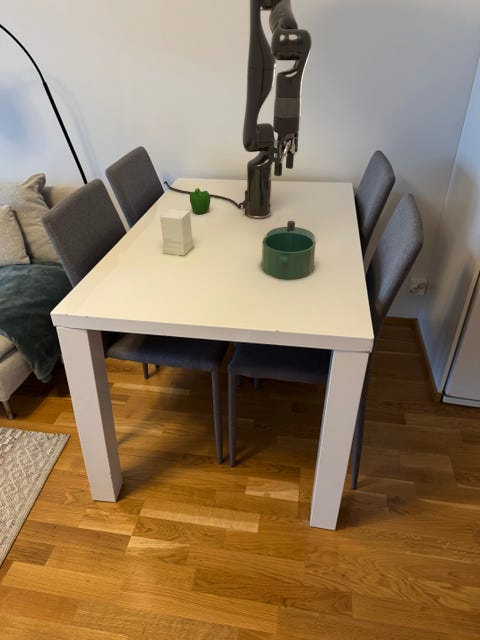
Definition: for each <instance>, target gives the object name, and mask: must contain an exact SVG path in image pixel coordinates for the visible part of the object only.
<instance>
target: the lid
mask: <svg viewBox="0 0 480 640" xmlns="http://www.w3.org/2000/svg"><path fill="white" fill-rule="evenodd" d="M286 225H287V226H280V227H276V228H275V227H274V228H272V229H270V230H269V231H267V233H266V236H268V235H270V234H273V233H277V232H289V231H297V233H302V234H305V235H308V236H310V237H311V238H313V239H314V240H315V234H314V233H313V232H312V231H310V230H308V229H307V228H302V227H298V226H296V221H295V220H287V224H286Z"/></svg>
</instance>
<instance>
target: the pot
mask: <svg viewBox="0 0 480 640" xmlns="http://www.w3.org/2000/svg"><path fill="white" fill-rule="evenodd" d="M316 244H317V241H316V240H315V238H314V239H313V238H311V237H310V236H308V235H305V234H302V233H297V231H289V232H277V233H273V234H270V235H268V236H267V235H266V236H265V237H263V240H262V243H261V247H262V248H261V268H262V271H263V272H264V273H265V274H266V275H268V276H270V277H273V278H275V279H280V280H298V279H299V280H300V279H303V278H306V277H308V276H310V275H311V274H312V273H313V271H314V265H315V254H316Z"/></svg>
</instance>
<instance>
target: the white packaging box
mask: <svg viewBox="0 0 480 640" xmlns="http://www.w3.org/2000/svg"><path fill="white" fill-rule="evenodd" d="M159 219H160V223H161V224H160V225H161V235H162V242H163V250H164V254H170V255H177V256H186V255H187V253H189V252H190V250H192V249H193V247H194V246H193V245H194V244H193V232H192V219H191V211H189V210H180V209H172V208H171V209H168V210H167V211H166V212H164V214H162V215H161V216H160V217H159Z"/></svg>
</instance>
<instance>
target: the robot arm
mask: <svg viewBox="0 0 480 640" xmlns="http://www.w3.org/2000/svg"><path fill="white" fill-rule="evenodd" d="M262 12H270V13H269V17H268V26H269V29H270V32H271V35H272V37H271V40H270V43H269V40H268V38H267V36H266V33H265V30H264V27H263V24H262V23H263V22H262V15H261V14H262ZM248 37H249V39H248V51H247V52H248V53H247V65H246V66H247V68H246V97H245V98H246V99H245V101H246V102H245V109H244V110H245V111H244V118H243V126H242V146H243V148H244V150H245V152H247V153H257V152H258V153H257V155H256V156H255V157H253V158H251V159H250V160H249V161H247V164H246V189H245V191H244V200H243V201H242V202H240V203H238V202H236V201H235V200H234V199H231V198H229V197H225V196H221V195H218V194H212V193H209V194H210V198H211V197H212V198H218V199H221V200H226V201H228V202H230V203H232V204H233V205H235V206H236V207H237V208H238V209H243V210H244V215H245V216H247V217H249V218H252V219H266V218H268V217H270V216H271V207H272V174H273V175H274V176H275V177H281V176H282V175H283V161H284V158H285V168H286V169H289V170H292V169H293V168H294V160H295V159H294V158H295V156H296V153H298V149H299V147H298V146H299V131H300V126H301V111H302V97H301V96H302V85H303V77H304V73H305V69H306V65H307V62H308V60H309V56H310V53H311V50H312V45H313V42H312V41H313V40H312V36H311V33H310V32H309V31H308V30H307V29H305V28H299V25H298V22H297V19H296V17H295V15H294V12H293V9H292V1H291V0H249V36H248ZM277 61H278V62H294V63H293V65H292V67H291V68H289V69H286V70H285V69H284V70H282V71H279V72H278V73H277V74H276V69H277V68H276V67H277ZM274 85H275V94H274V102H273V123H270V122H261V123H258V120H259V115H260V112H261V109H262V107H263V106H264V104H265V102H266V101H267V99H268V97H269V96H270V94H271V92H272V90H273V88H274ZM276 134H277V138H276ZM273 164H274V168H273ZM272 172H273V173H272ZM163 185H165V186H167V188H168V189H170V190H172V191H174V192H179V193H184V194H188V195H190V193H191V192H192V191H189V190H182V189H178V188H175V187H172V186H170V184H169V183H168V181H167V180H165V181H163Z"/></svg>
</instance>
